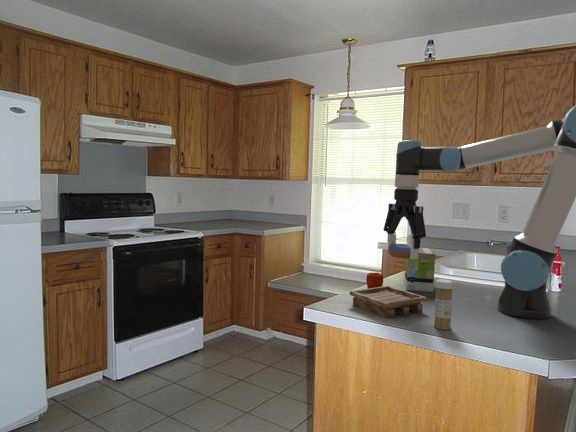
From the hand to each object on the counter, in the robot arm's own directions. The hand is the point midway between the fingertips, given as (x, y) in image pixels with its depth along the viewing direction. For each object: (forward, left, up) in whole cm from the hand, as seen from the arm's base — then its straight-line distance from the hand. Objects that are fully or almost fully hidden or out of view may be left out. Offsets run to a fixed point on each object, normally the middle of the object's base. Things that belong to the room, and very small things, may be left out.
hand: (402, 255), depth 146 cm
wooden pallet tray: (-2, +8, -16) cm, 18 cm away
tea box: (+15, -25, -17) cm, 33 cm away
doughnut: (0, 0, -1) cm, 1 cm away
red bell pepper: (+16, -3, -17) cm, 23 cm away
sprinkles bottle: (-23, +7, -17) cm, 29 cm away
